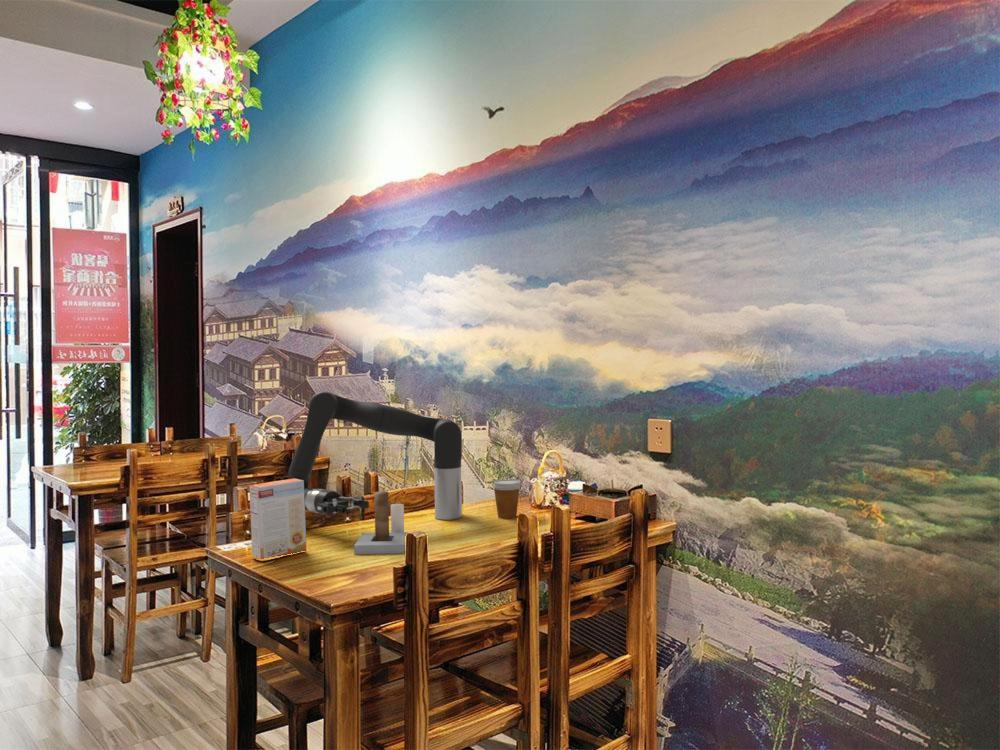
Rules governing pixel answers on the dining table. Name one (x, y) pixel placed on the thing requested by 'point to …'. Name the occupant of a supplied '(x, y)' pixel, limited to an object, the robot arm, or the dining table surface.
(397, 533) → the board
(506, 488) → the disposable coffee cup
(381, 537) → the walnut dowel
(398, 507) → the cream rod
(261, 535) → the cracker box
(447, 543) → the dining table surface
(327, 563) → the dining table surface
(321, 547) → the dining table surface
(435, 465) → the robot arm
